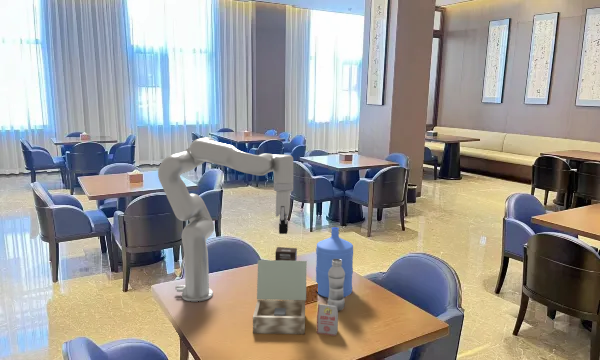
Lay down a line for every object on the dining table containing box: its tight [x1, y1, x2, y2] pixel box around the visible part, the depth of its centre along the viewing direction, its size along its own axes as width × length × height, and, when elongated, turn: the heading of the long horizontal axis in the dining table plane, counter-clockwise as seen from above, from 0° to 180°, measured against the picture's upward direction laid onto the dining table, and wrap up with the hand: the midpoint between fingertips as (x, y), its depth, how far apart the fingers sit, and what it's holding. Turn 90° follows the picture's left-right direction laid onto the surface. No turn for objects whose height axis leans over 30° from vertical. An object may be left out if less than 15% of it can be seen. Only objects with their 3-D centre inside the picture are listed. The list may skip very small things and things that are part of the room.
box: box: [252, 299, 306, 335], centre depth 164 cm, size 18×14×6 cm
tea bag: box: [316, 303, 339, 337], centre depth 158 cm, size 4×7×10 cm, turn 74°
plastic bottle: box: [327, 259, 346, 312], centre depth 175 cm, size 6×7×20 cm
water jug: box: [315, 226, 354, 299], centre depth 191 cm, size 16×16×28 cm
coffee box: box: [274, 246, 298, 261], centre depth 199 cm, size 9×6×16 cm
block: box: [274, 308, 286, 316], centre depth 163 cm, size 5×4×4 cm
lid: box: [256, 259, 308, 301], centre depth 172 cm, size 19×15×1 cm
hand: (283, 231), depth 178 cm, fingers open, 2 cm apart
